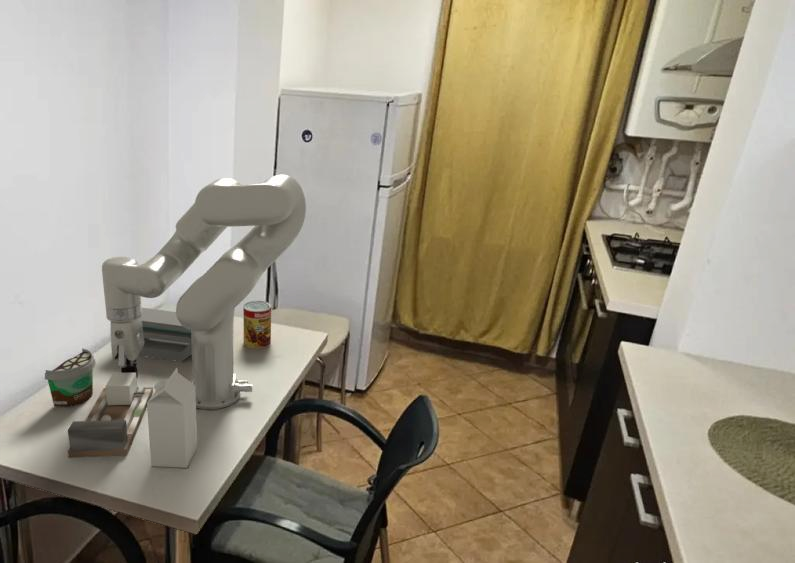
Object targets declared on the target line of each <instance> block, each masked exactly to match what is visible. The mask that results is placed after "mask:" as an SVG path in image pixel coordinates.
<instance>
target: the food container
mask: <svg viewBox="0 0 795 563" xmlns="http://www.w3.org/2000/svg"><path fill="white" fill-rule="evenodd" d="M81 350H82V351H81V352H80V353H79V354H78V355H75V356H73V357H71V358H68V359H67V360H65V361H63V362H62V363H61V364H59V365H58V366H57V367H56V368H54V369H52V370H49V369H48V370H47V369H45V372H44V380H47V383H48V386H49V391H50V396H51V399H52V402H53V407H55V408H71V407H74V406H78V405H81V404H84V403H86V402H87V401H88V400H90V399H91V398H92V397H93V395H94V394H93V393H94V384H93V377H94V376H93V372H94V371H93V369H94V368H95V366H96V359H95V357H94V354H93V353H92V352H91V351H90V350H89V349H86V348H81Z"/></svg>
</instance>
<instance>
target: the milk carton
mask: <svg viewBox="0 0 795 563" xmlns="http://www.w3.org/2000/svg"><path fill="white" fill-rule="evenodd" d="M153 389H155V391H153V394H152V396H151V398H150V399H149V401H148V402H147V409H146V411H147V425H148V427H147V428H148V437H149V439H148V440H149V450H150V451H149V452H150V463H151V464H150V465H151V467H161V468H162V467H163V468H164V467H165V468H178V469H179V468H180V469H181V468H183V469H187V468H188V466H190V462H191V461H192V459H193V457H194V455H195V452H196V451H197V448H198V430H197V429H198V427H197V408H196V395H195V386H194V385H193V382H191V381H189V380H188V379H187V378H185V377H184V376H183V375H182V374H180V373H179V372H178V367H176V368H175V369H174V371H173V372H172V373H171V375H170V376H169V377H168V378H167V379H165V380H164V379H160V380H158V381H157V382H156V383H155V384H154V385H153Z"/></svg>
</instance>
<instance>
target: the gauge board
mask: <svg viewBox="0 0 795 563" xmlns="http://www.w3.org/2000/svg"><path fill="white" fill-rule="evenodd" d="M137 392H145V394H136V395H135V397H134V399H133V402H132V404H131V405H107V396H106V387H103V388H102V390H101V392H100V394H99V396H98V398H97V399H96V401H95V403H94V404H93V406H92V408H91V410H90V412H89V414H88V415H87V417H86V419H85V420H82V421H81V420H79V421H78V420H77V421H75V420H73V421H72V422H71V424H70V426H69V427H68V428H67V434H68V442H69V443H68V444H69V448H68V449H67V457H68V458H86V457H88V458H89V457H116V456H118V457H119V456H120V457H121V456H122V457H123V456H128V454H129V452H130V449H131V447H132V445H133V441H134V439H135V438H136V435H137V433H138V430H139V428H140V425H141V423H142V420H143V418H144V416H145V413H146V411H147V409H146V408H147V402H148V401H149V399H150V398H151V396H152V395H153V394H154V386H153V387H152V386H151V387H149V386H148V387H145V386H144V385H141V386H139V387H137Z"/></svg>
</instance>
